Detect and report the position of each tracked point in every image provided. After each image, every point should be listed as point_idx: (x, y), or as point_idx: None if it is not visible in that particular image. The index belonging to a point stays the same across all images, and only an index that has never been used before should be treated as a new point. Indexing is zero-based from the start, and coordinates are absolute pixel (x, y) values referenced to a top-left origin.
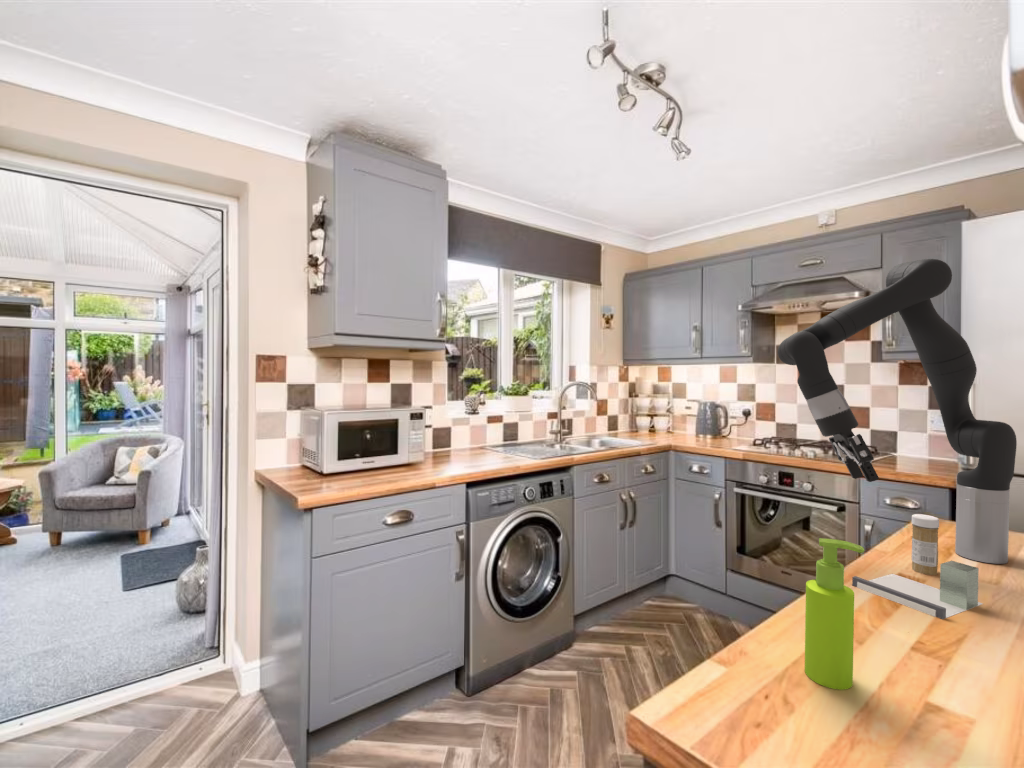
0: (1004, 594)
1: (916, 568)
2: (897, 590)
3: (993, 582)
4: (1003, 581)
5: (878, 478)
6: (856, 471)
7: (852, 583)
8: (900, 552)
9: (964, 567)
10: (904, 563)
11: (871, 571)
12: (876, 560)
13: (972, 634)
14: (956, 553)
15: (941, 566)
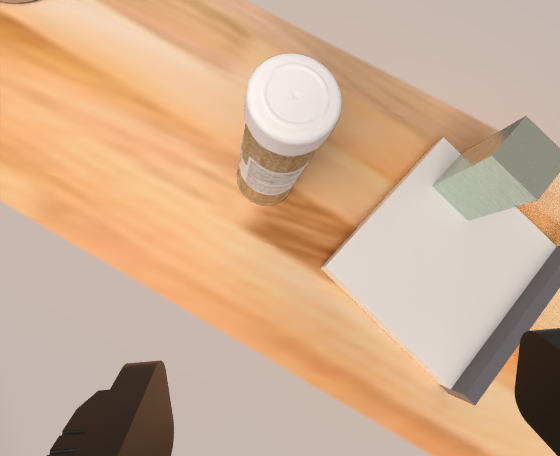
0: (309, 50)
1: (283, 194)
2: (446, 294)
3: (233, 32)
4: (216, 6)
5: (555, 329)
6: (151, 445)
7: (463, 399)
8: (39, 157)
9: (537, 149)
10: (154, 185)
11: (265, 301)
12: (154, 257)
13: (552, 214)
14: (4, 1)
15: (534, 200)
